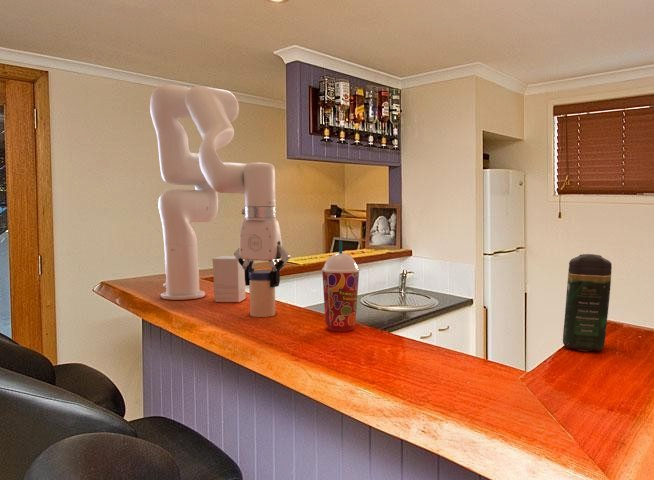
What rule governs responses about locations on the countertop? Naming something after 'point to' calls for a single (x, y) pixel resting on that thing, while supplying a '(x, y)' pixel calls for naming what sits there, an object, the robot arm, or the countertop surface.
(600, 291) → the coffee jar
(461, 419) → the countertop surface
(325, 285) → the smoothie
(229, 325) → the countertop surface
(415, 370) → the countertop surface
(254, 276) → the jar lid
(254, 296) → the jar
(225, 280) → the white packaging box
